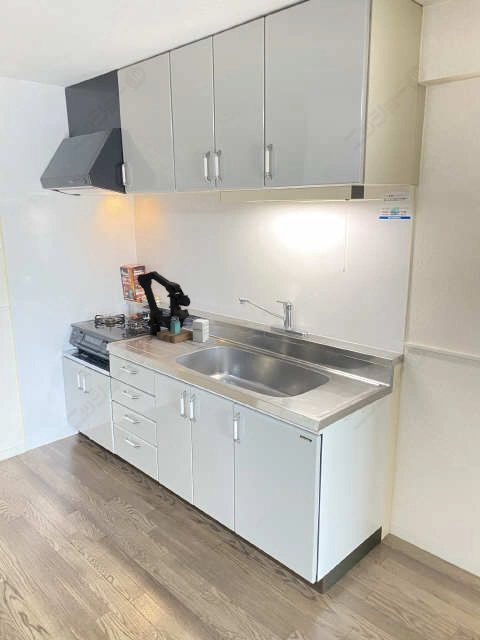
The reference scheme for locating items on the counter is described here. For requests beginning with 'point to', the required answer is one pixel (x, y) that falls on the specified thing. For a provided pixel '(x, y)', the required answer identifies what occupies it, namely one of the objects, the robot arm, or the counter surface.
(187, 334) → the walnut socket
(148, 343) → the counter surface
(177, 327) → the teal peg
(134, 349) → the counter surface
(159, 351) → the counter surface
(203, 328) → the supplement box
